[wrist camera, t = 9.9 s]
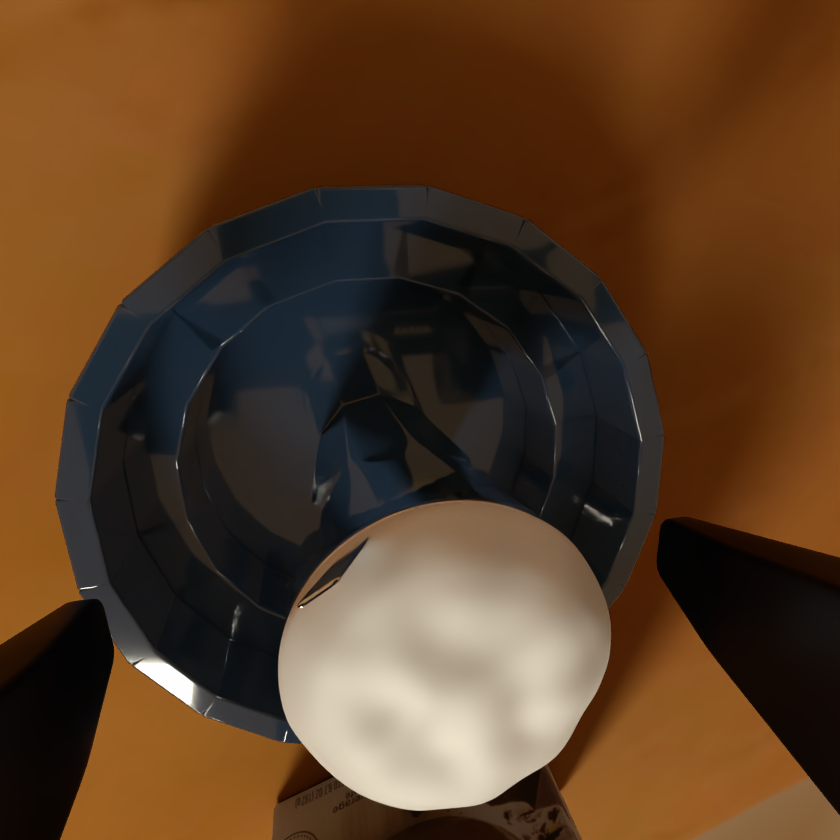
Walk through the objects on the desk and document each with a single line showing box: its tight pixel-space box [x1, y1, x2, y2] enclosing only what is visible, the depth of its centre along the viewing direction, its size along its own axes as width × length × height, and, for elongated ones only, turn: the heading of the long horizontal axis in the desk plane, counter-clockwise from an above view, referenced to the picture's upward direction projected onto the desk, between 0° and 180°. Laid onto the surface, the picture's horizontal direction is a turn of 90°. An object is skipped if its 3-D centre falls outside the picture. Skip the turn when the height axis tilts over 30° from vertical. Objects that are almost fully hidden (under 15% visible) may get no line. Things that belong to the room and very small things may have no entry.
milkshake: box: [278, 396, 611, 811], centre depth 10 cm, size 4×5×10 cm
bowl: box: [55, 184, 664, 744], centre depth 13 cm, size 12×12×4 cm
